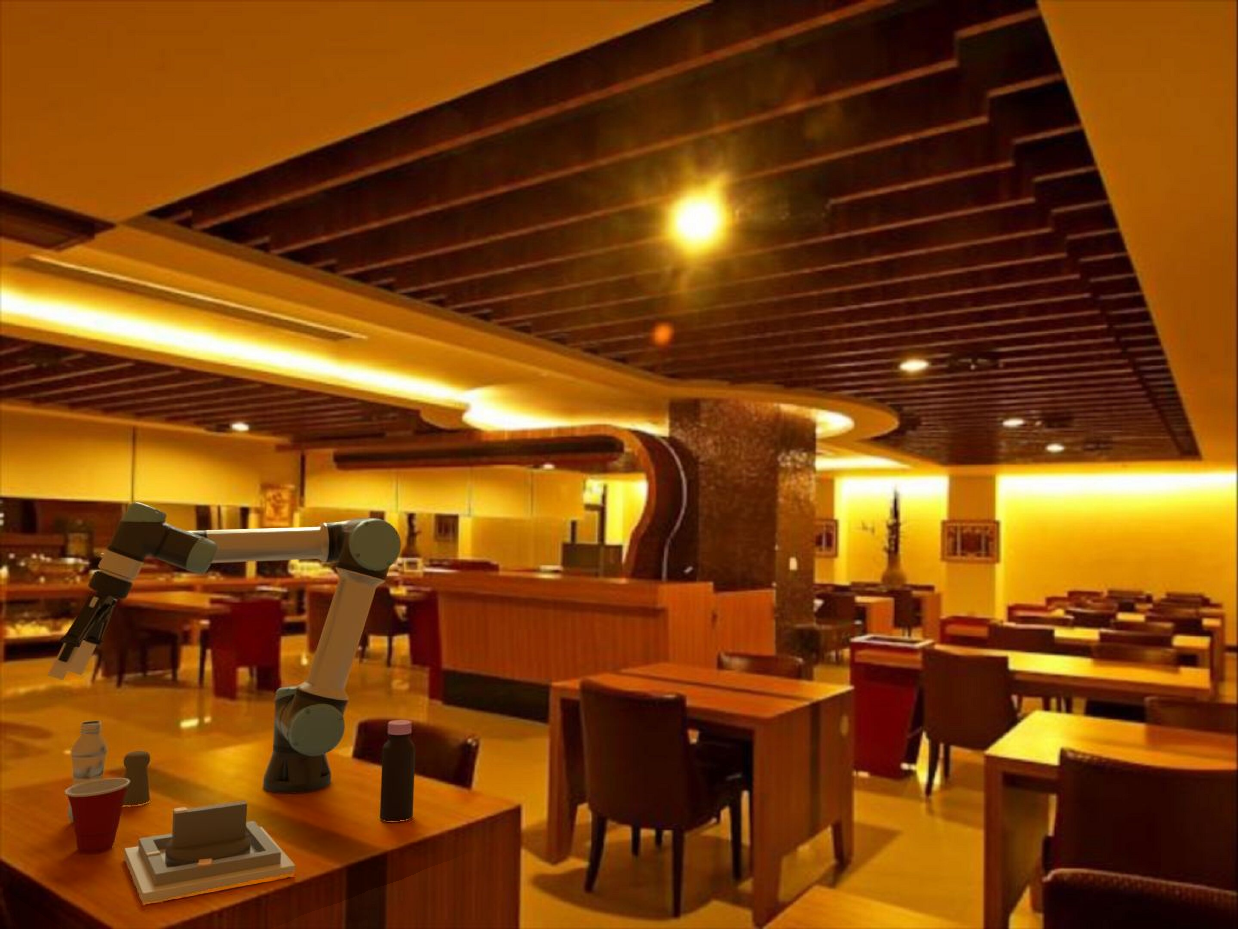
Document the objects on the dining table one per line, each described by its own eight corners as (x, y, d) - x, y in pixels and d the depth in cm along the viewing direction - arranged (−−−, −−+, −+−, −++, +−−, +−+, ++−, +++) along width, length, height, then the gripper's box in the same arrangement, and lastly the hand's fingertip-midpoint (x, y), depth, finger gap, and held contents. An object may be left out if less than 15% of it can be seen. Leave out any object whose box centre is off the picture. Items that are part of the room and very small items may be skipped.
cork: (155, 799, 205) (158, 749, 206) (139, 808, 199) (142, 756, 200) (130, 798, 206) (132, 748, 206) (112, 806, 200) (115, 754, 200)
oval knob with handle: (240, 837, 176) (242, 789, 177) (258, 860, 165) (261, 809, 165) (159, 850, 168) (161, 800, 169) (172, 875, 157) (174, 822, 157)
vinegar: (419, 818, 197) (422, 722, 198) (391, 825, 192) (395, 727, 193) (400, 811, 201) (404, 717, 202) (373, 818, 196) (377, 722, 198)
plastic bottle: (111, 819, 192) (117, 720, 193) (83, 829, 185) (89, 727, 186) (88, 815, 194) (93, 718, 195) (59, 825, 187) (65, 724, 189)
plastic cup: (78, 839, 180) (82, 775, 180) (136, 838, 180) (140, 776, 181) (49, 859, 169) (53, 792, 169) (110, 859, 170) (114, 792, 170)
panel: (261, 837, 183) (262, 815, 183) (294, 877, 163) (295, 852, 163) (124, 859, 169) (125, 835, 170) (142, 906, 150) (144, 878, 150)
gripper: (111, 571, 202) (63, 664, 197) (80, 566, 178) (25, 672, 173) (145, 583, 203) (99, 677, 198) (119, 580, 180) (66, 686, 174)
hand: (65, 675), depth 186 cm, fingers open, 13 cm apart
